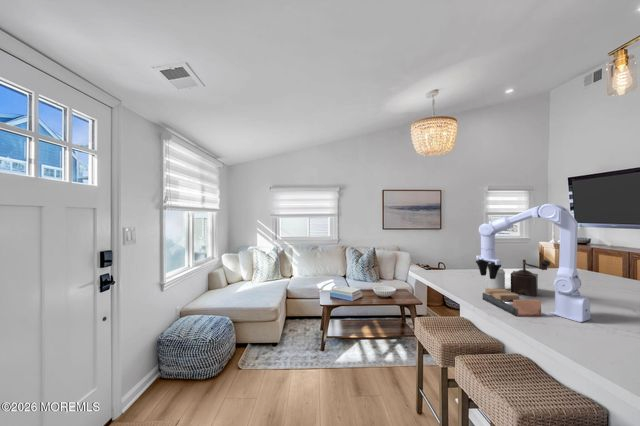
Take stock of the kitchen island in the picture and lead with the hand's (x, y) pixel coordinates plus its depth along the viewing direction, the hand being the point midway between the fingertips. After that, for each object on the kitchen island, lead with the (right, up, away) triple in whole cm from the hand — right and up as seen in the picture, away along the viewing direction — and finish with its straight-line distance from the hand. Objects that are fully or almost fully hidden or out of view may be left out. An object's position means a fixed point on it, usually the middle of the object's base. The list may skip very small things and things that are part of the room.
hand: (487, 277), depth 126 cm
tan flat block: (0, -6, -9) cm, 11 cm away
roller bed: (0, -10, -13) cm, 16 cm away
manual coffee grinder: (+24, -10, +5) cm, 26 cm away
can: (+10, -10, +9) cm, 16 cm away
